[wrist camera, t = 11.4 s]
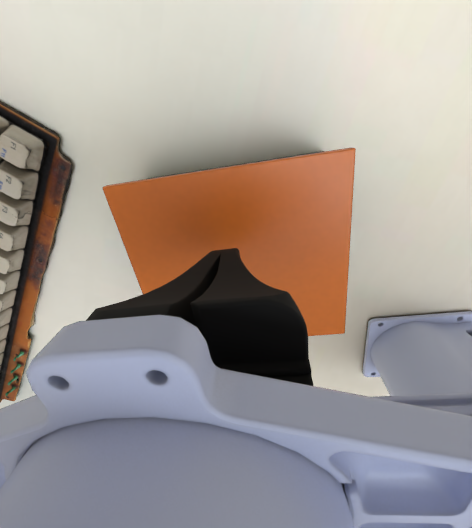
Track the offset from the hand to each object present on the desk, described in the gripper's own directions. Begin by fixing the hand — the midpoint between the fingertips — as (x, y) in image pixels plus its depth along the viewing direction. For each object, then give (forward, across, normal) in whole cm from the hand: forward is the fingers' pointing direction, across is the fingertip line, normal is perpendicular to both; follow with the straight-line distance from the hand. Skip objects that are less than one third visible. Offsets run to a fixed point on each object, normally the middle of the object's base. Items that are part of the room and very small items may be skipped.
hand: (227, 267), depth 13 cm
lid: (+3, 0, +2) cm, 4 cm away
